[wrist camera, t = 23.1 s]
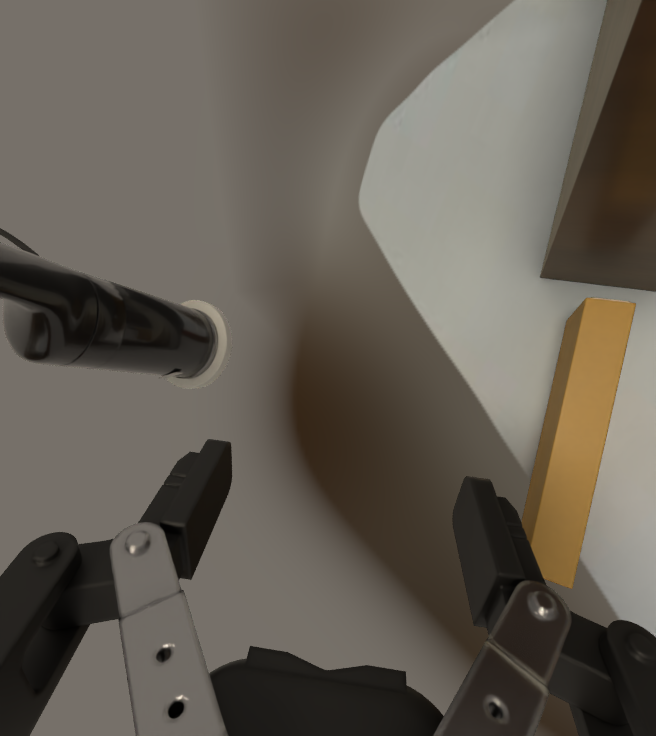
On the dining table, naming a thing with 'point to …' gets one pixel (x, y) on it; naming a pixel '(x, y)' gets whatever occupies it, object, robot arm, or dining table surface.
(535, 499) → the mustard yellow plank
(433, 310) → the dining table surface
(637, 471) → the dining table surface
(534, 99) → the dining table surface
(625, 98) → the dark brown tall slab
